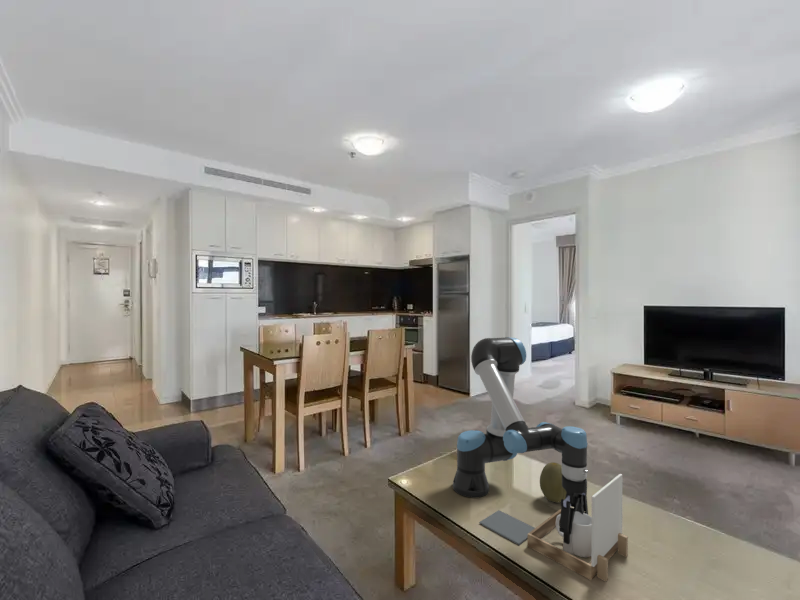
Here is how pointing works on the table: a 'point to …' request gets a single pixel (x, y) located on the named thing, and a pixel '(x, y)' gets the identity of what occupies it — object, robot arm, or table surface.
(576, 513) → the cup
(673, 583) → the table surface
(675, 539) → the table surface
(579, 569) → the frame
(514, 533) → the mat
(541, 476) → the fruit
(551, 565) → the table surface
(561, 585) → the table surface
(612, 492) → the lid
